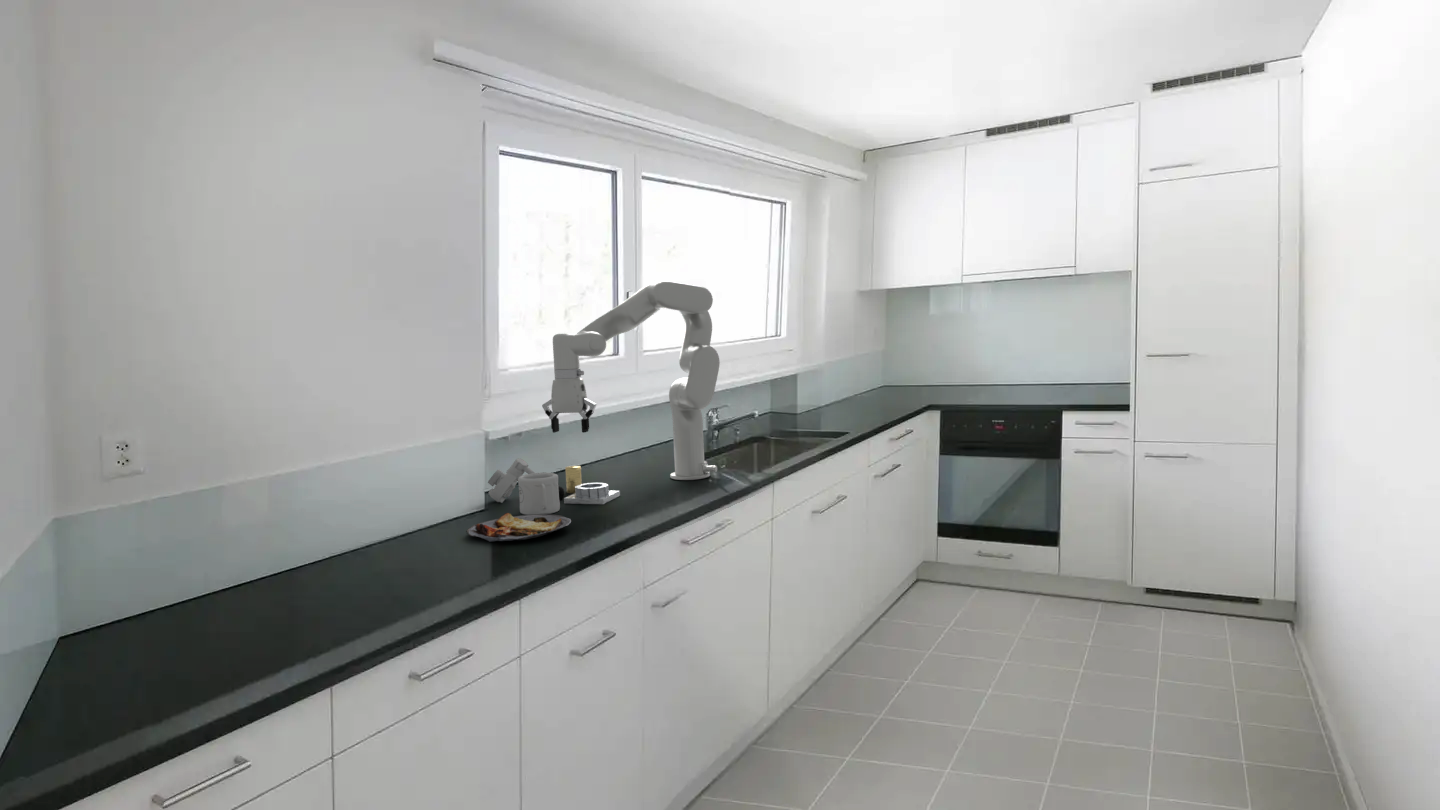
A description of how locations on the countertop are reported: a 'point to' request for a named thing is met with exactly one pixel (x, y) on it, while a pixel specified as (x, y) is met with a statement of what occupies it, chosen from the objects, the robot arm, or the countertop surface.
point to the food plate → (518, 527)
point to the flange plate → (592, 500)
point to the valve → (511, 480)
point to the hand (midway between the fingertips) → (570, 431)
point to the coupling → (573, 478)
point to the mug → (538, 493)
